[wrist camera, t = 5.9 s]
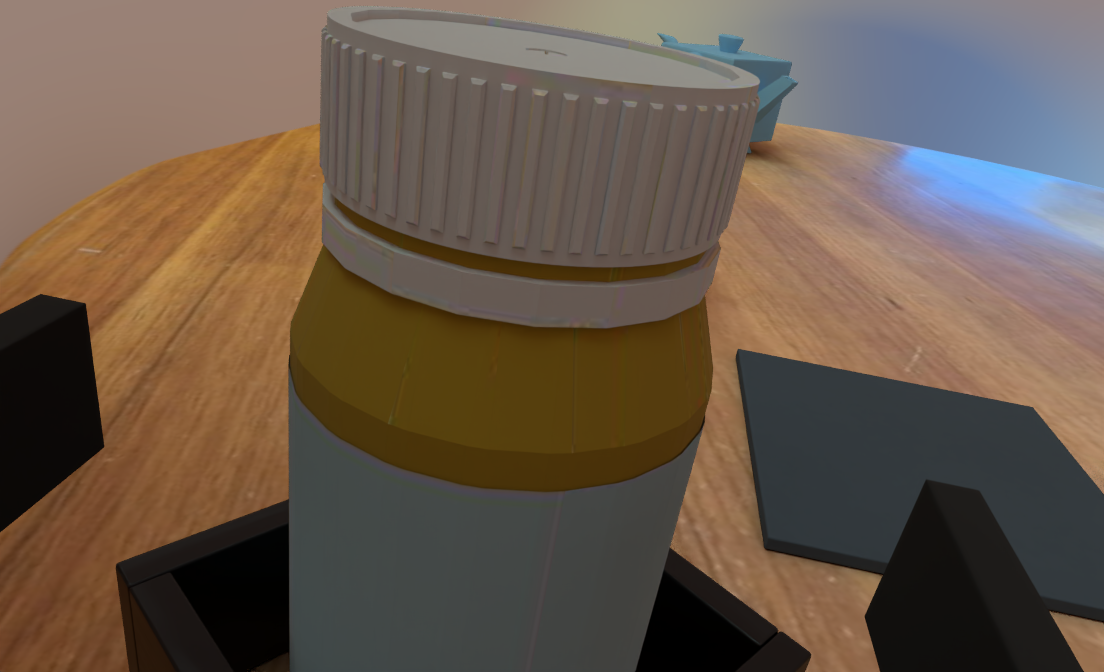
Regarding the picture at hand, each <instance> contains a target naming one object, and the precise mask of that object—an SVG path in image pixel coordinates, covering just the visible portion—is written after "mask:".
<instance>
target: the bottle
mask: <svg viewBox="0 0 1104 672" xmlns="http://www.w3.org/2000/svg"><path fill="white" fill-rule="evenodd" d="M321 48H322V49H321V112H320V113H321V115H320V167H321V168H322V170H323V175H324V177H325V183H323V209H322V243H323V246H322V249H321V251H320V254H319V256H318V258H317V261H316V263H315V266H314V268H313V271H312V273H311V275H310V278H309V280H308V283H307V285H306V288H305V290H304V292H303V295H302V297H301V300H300V302H299V305H298V307H297V309H296V312H295V314H294V317H293V319H292V321H291V328H290V355H289V365H288V366H289V648H290V672H635V671H636V667H637V663H638V660H639V656H640V653H641V649H642V645H643V642H644V638H645V635H646V631H647V627H648V624H649V620H650V617H651V613H652V609H653V606H654V602H655V599H656V595H657V591H658V588H659V584H660V581H661V577H662V574H663V570H664V566H665V563H666V559H667V556H668V552H669V548H670V545H671V541H672V538H673V534H674V530H675V527H676V523H677V520H678V516H679V512H680V509H681V505H682V502H683V498H684V494H685V491H686V487H687V484H688V480H689V476H690V473H691V469H692V466H693V462H694V458H695V455H696V451H697V448H698V444H699V440H700V437H701V433H702V430H703V426H704V422H705V412H706V408H707V405H708V401H709V397H710V394H711V389H712V375H713V363H712V354H711V345H710V336H709V327H708V318H707V309H706V300H705V293H706V292H707V290H708V289H709V287H710V285H711V284H712V281H713V277H714V273H715V269H716V265H717V262H718V258H719V254H720V250H721V247H720V245H719V242H718V240H719V238H720V235H721V233H723V230H724V229H726V228H727V226H728V222H729V220H730V216H731V212H732V208H733V204H734V201H735V197H736V193H737V189H738V185H739V181H740V177H741V174H742V170H743V166H744V162H745V158H746V154H747V150H748V147H749V143H750V139H751V135H752V131H753V127H754V123H755V120H756V116H757V112H758V108H759V104H760V98H759V96H758V94H757V92H758V88H759V84H760V80H759V78H758V77H756V76H755V75H753V74H751V73H750V72H747V71H745V70H743V69H740V68H738V67H735V66H732V65H729V64H726V63H723V62H720V61H717V60H713V59H710V58H706V57H703V56H699V55H695V54H692V53H688V52H684V51H680V50H676V49H671V48H667V47H663V46H658V45H654V44H649V43H645V42H640V41H635V40H630V39H625V38H620V37H615V36H610V35H605V34H599V33H594V32H588V31H583V30H577V29H571V28H565V27H559V26H553V25H547V24H540V23H534V22H526V21H521V20H513V19H506V18H499V17H491V16H484V15H483V16H482V15H475V14H466V13H458V12H449V11H438V10H427V9H415V8H401V7H379V6H377V7H376V6H359V7H358V6H357V7H342V8H336V9H332V10H330V11H329V12H328V13H327V25H326V26H325V27H324V28H323V29H322V45H321Z"/></svg>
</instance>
